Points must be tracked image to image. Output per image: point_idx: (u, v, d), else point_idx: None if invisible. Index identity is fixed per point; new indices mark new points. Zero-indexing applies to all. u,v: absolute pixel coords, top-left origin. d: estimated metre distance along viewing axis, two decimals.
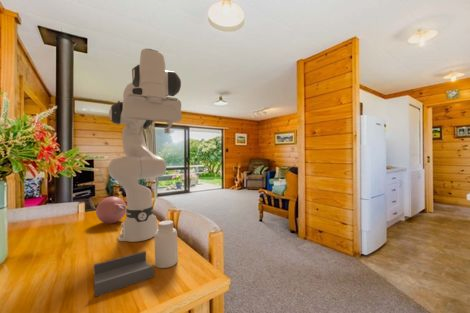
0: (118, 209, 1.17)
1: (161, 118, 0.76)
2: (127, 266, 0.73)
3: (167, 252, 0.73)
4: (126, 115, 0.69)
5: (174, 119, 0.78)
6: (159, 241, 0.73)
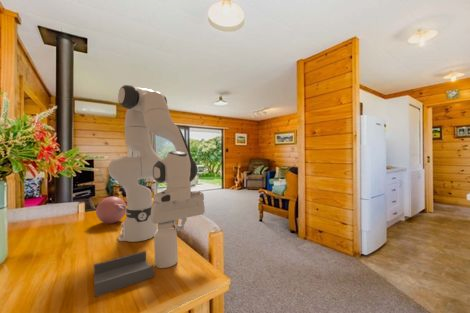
0: (118, 209, 1.17)
1: (186, 216, 0.79)
2: (127, 266, 0.73)
3: (167, 252, 0.73)
4: (155, 222, 0.72)
5: (198, 214, 0.82)
6: (159, 241, 0.72)
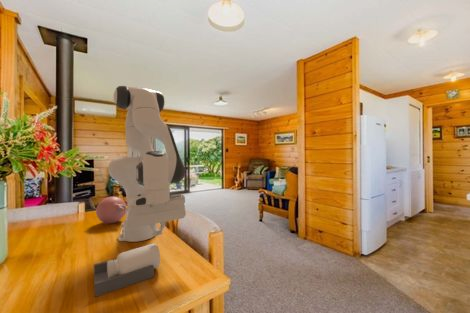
0: (118, 209, 1.17)
1: (165, 220, 0.74)
2: None
3: None
4: (129, 227, 0.68)
5: (178, 218, 0.77)
6: None
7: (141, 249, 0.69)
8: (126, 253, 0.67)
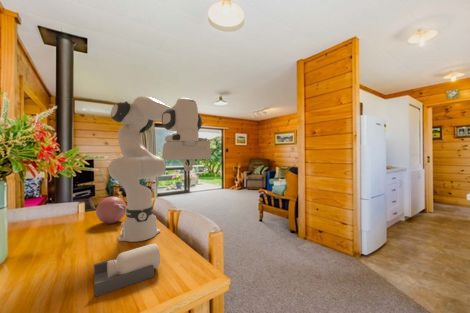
0: (118, 209, 1.17)
1: (194, 158, 0.86)
2: None
3: None
4: (167, 158, 0.80)
5: (205, 157, 0.89)
6: None
7: (141, 249, 0.69)
8: (126, 253, 0.67)
